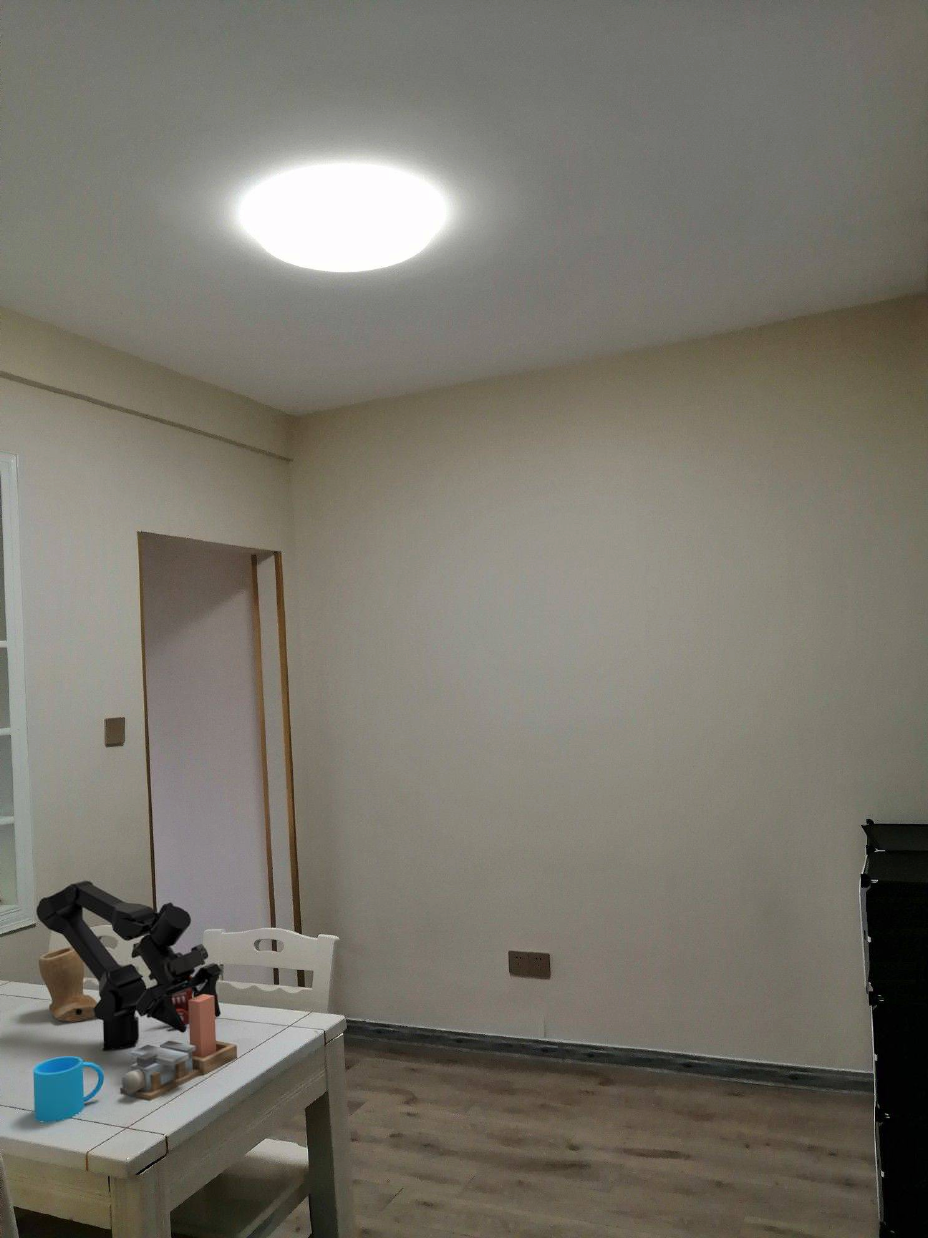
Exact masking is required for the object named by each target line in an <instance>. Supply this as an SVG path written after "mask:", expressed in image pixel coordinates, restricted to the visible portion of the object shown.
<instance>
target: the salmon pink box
mask: <svg viewBox="0 0 928 1238" xmlns="http://www.w3.org/2000/svg"><path fill="white" fill-rule="evenodd" d="M188 1004H189V1021H188V1025H189V1027H188V1028H189V1029H188V1030H189V1045H193V1046H196V1050H194V1051H192V1056H197V1057H201V1058H205V1057H207V1056H209V1055H211V1054H213V1053H215V1052H216V1041H217V1037H216V1036H217V1035H216V1033H217V1032H216V1016H215V1004H214V996H212V995H206V994H202V995H200V996H197V997H195V998H194V997H192V999H190V1000H188Z"/></svg>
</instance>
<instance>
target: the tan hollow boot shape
mask: <svg viewBox="0 0 928 1238" xmlns="http://www.w3.org/2000/svg"><path fill="white" fill-rule="evenodd" d="M38 967H39V968H38V969H39V974H40V976H41V978H42V980H43V982H44V984H45V986H46V988H47V991H48V993H49V995H50V998H51V1003H49V1006H48V1011H49V1012H50V1013H51V1015H52V1016H53V1017H55V1019H57V1020H58V1021H59V1020H60V1021H65V1022H75V1023H76V1022H82V1021H85V1020H87V1019H90V1018H93V1017H94V1016H95V1014H94V1007H95V1006H96V1005H97V1003H98V1002H97V1000H95V998H94V997H92V996H90V995H89V994H84V977H85V963H84V962H83V960H82V959H81V958H80V956H79V955H78V954H77V952H76V951H75V950H74V949H73V947H72V946H71V945H70V946H65V947H62V948H58V949H56V950H53V951H52V950H51V951H49V952H47V953H44V954H43V955H41V956H39V958H38Z"/></svg>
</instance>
